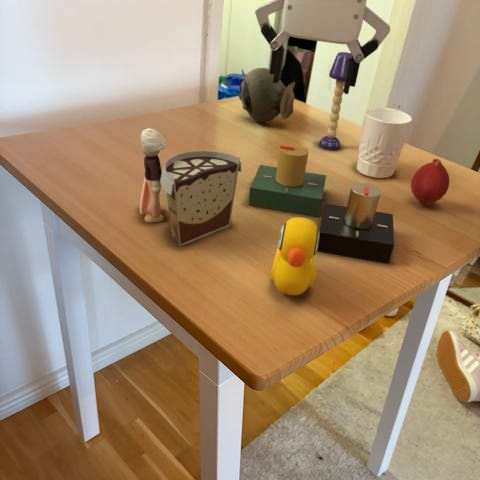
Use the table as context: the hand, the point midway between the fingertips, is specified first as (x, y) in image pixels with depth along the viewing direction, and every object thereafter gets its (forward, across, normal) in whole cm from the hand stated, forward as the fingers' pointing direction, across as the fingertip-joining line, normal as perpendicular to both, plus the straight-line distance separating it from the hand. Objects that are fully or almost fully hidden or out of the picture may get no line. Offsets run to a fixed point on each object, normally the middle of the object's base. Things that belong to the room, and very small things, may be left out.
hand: (311, 85), depth 73 cm
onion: (+18, -21, -7) cm, 28 cm away
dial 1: (+15, +1, -1) cm, 15 cm away
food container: (+18, +13, +13) cm, 26 cm away
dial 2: (+15, -10, +9) cm, 20 cm away
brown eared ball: (+18, +11, -35) cm, 41 cm away
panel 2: (+18, -10, +9) cm, 22 cm away
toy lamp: (+18, -4, -27) cm, 33 cm away
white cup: (+18, -13, -18) cm, 29 cm away
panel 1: (+18, +1, -1) cm, 18 cm away
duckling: (+18, -3, +23) cm, 29 cm away
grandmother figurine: (+18, +19, +12) cm, 29 cm away
